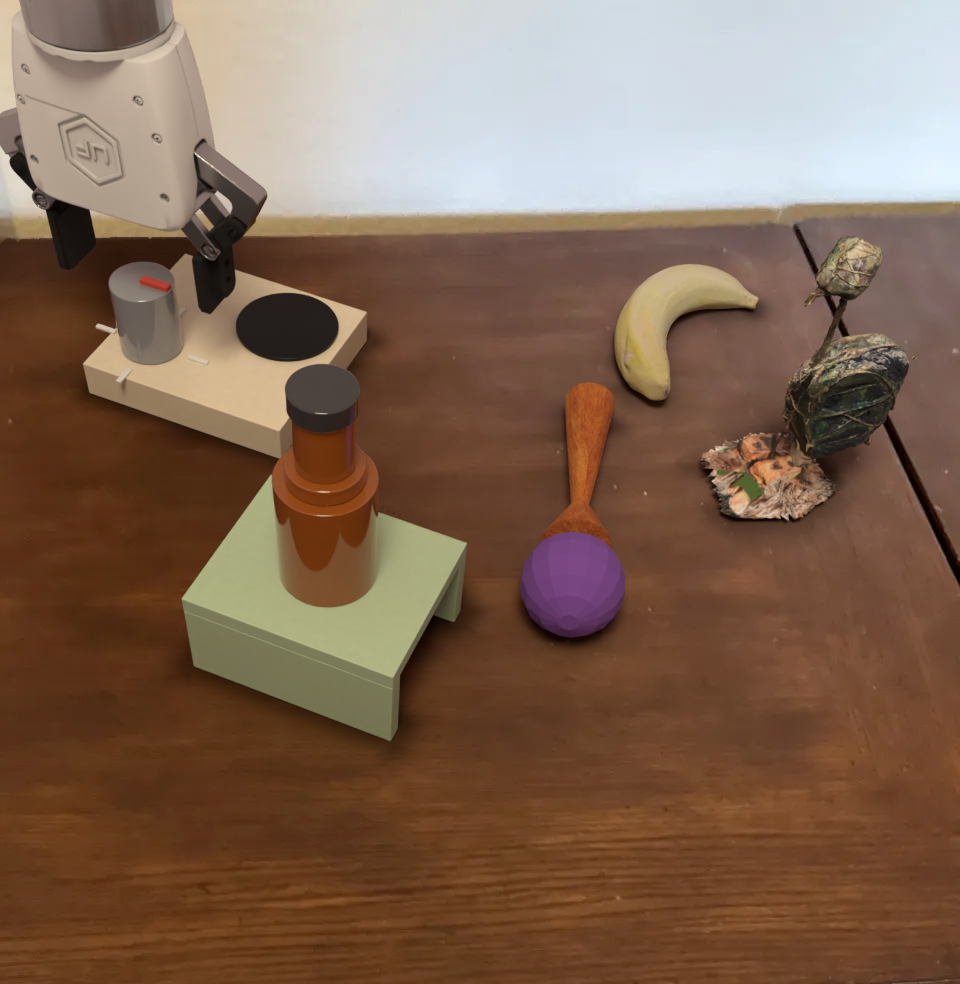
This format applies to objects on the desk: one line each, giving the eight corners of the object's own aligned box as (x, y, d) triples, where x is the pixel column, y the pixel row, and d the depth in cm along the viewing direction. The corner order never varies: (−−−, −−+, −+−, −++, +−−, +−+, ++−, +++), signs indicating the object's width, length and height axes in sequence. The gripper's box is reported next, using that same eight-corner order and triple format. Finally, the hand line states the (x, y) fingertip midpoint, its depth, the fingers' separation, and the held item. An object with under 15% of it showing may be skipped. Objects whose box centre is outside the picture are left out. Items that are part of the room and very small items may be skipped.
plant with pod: (881, 527, 80) (1010, 264, 64) (708, 526, 79) (796, 258, 63) (850, 438, 85) (963, 173, 69) (687, 436, 84) (763, 166, 68)
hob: (69, 393, 82) (61, 361, 80) (175, 278, 90) (170, 246, 88) (277, 465, 79) (274, 435, 77) (367, 340, 87) (367, 309, 85)
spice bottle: (261, 587, 66) (243, 405, 56) (306, 521, 69) (296, 337, 59) (351, 621, 65) (350, 441, 55) (393, 552, 68) (398, 370, 58)
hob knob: (108, 353, 81) (94, 285, 77) (141, 318, 83) (129, 250, 79) (163, 372, 80) (152, 304, 76) (194, 336, 82) (185, 268, 78)
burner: (217, 342, 82) (216, 339, 82) (265, 285, 86) (265, 281, 86) (310, 374, 81) (310, 370, 81) (355, 314, 85) (355, 310, 85)
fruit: (570, 371, 87) (577, 333, 84) (675, 268, 95) (684, 230, 92) (659, 417, 85) (669, 379, 82) (759, 307, 93) (771, 270, 90)
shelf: (193, 666, 70) (180, 598, 65) (276, 544, 75) (270, 473, 71) (390, 742, 68) (393, 677, 63) (460, 610, 73) (467, 542, 69)
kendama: (648, 381, 81) (639, 602, 68) (616, 449, 85) (601, 669, 72) (561, 354, 80) (533, 572, 67) (533, 424, 85) (502, 641, 71)
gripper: (-95, -11, 63) (-10, 274, 77) (210, 73, 60) (243, 354, 74) (-6, -70, 68) (60, 210, 81) (282, 5, 64) (301, 283, 78)
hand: (147, 278), depth 77 cm, fingers open, 9 cm apart
